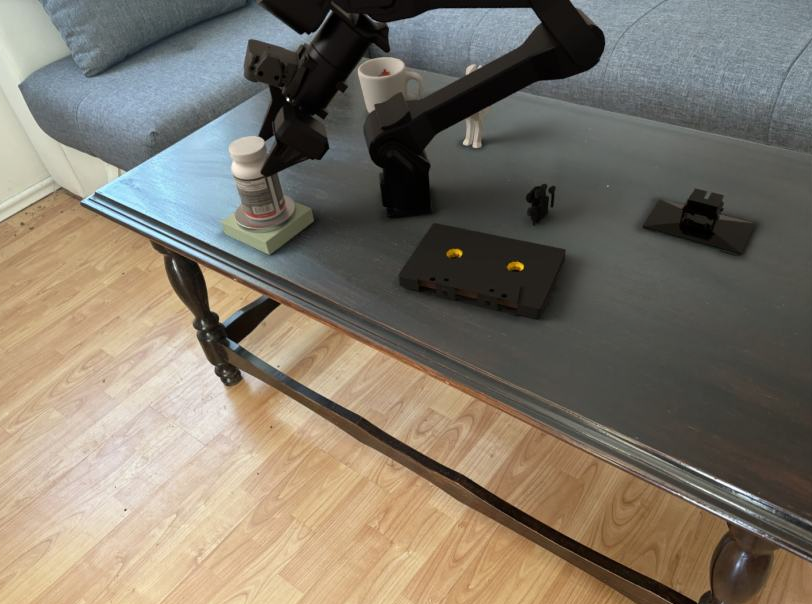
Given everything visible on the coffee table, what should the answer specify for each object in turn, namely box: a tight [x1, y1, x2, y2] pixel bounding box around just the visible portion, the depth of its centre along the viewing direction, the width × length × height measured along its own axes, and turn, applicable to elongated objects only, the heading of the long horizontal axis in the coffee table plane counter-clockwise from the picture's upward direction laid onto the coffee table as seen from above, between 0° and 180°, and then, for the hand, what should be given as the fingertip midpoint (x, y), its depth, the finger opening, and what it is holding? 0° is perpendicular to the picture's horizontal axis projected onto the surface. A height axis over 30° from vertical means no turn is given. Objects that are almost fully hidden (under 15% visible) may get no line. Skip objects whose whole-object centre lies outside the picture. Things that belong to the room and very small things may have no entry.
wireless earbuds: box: [525, 183, 557, 227], centre depth 88 cm, size 7×2×5 cm, turn 142°
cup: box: [357, 56, 425, 114], centre depth 111 cm, size 11×8×8 cm
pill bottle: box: [228, 135, 285, 220], centre depth 87 cm, size 6×6×10 cm
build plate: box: [641, 188, 756, 256], centre depth 84 cm, size 12×7×5 cm, turn 57°
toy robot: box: [462, 63, 491, 149], centre depth 101 cm, size 4×8×12 cm, turn 147°
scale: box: [220, 194, 315, 256], centre depth 92 cm, size 9×9×3 cm
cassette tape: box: [398, 222, 567, 320], centre depth 82 cm, size 18×12×2 cm, turn 66°
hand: (262, 156), depth 85 cm, fingers open, 9 cm apart
